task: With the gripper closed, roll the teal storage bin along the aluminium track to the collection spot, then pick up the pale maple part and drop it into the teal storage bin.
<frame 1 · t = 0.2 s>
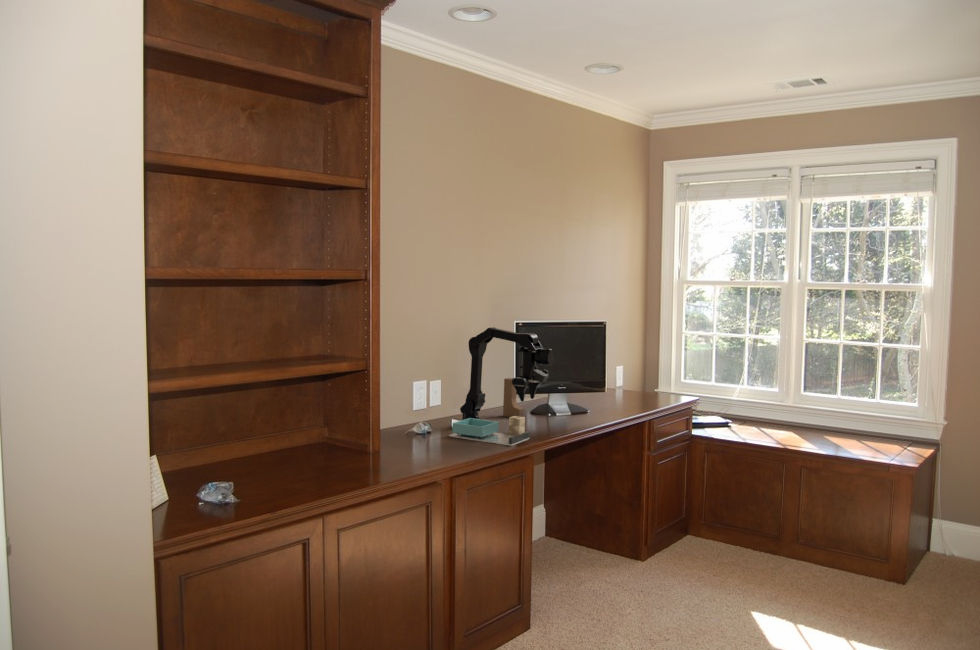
hand: (527, 400, 320), 14 cm above the table, fingers open, 9 cm apart
part: (516, 433, 321), on the table
teal storage bin: (475, 428, 315), point 3 cm above the table, slide at 0.0 cm
wooden block: (513, 417, 360), on the table
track: (489, 437, 312), on the table
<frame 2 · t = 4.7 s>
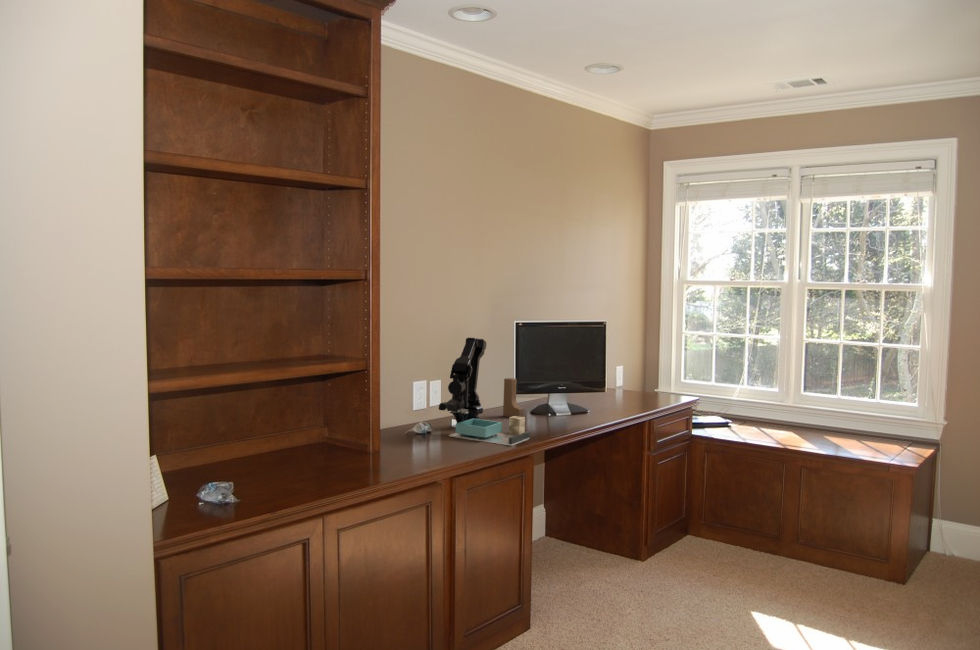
hand: (460, 428, 318), 2 cm above the table, fingers closed
teal storage bin: (479, 428, 314), point 3 cm above the table, slide at 1.6 cm, touching gripper
everything else where it was.
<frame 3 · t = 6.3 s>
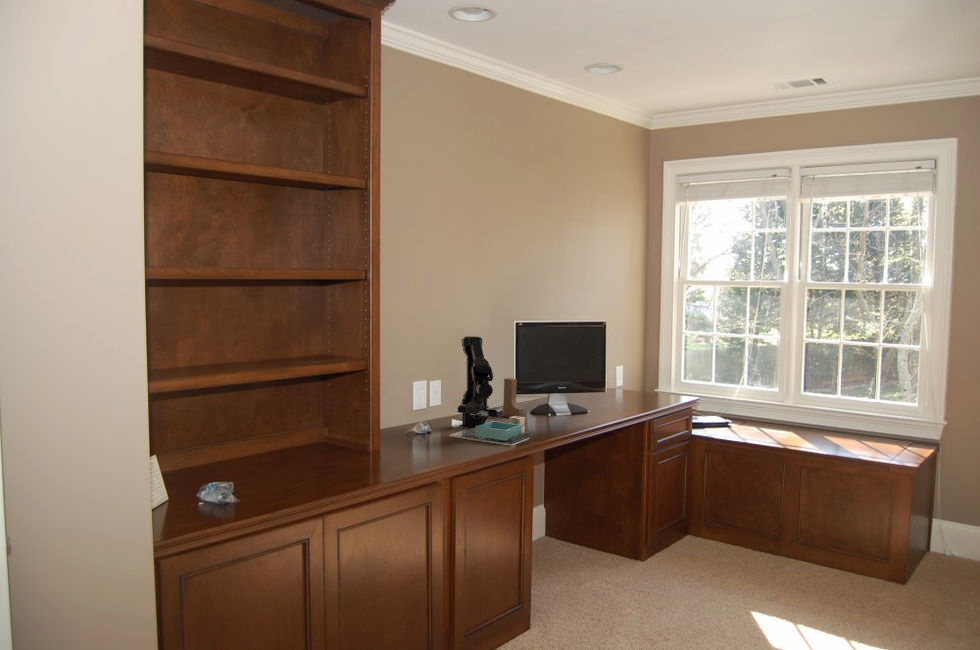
hand: (479, 431, 314), 2 cm above the table, fingers closed
teal storage bin: (498, 431, 310), point 3 cm above the table, slide at 10.9 cm, touching gripper
everything else where it was.
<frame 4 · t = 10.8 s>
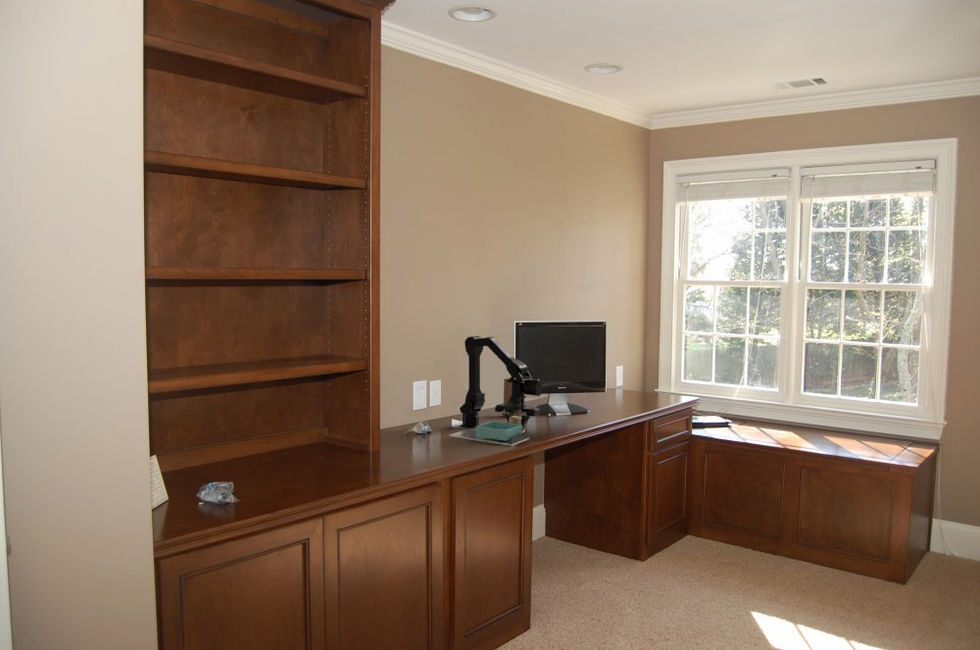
hand: (516, 430, 321), 2 cm above the table, fingers closed on part, 5 cm apart
part: (516, 433, 321), on the table, touching gripper
teal storage bin: (499, 431, 309), point 3 cm above the table, slide at 11.1 cm
everything else where it was.
when the fingers open (6 cm above the table, at t = 14.5 s): part drops 2 cm, resting on teal storage bin.
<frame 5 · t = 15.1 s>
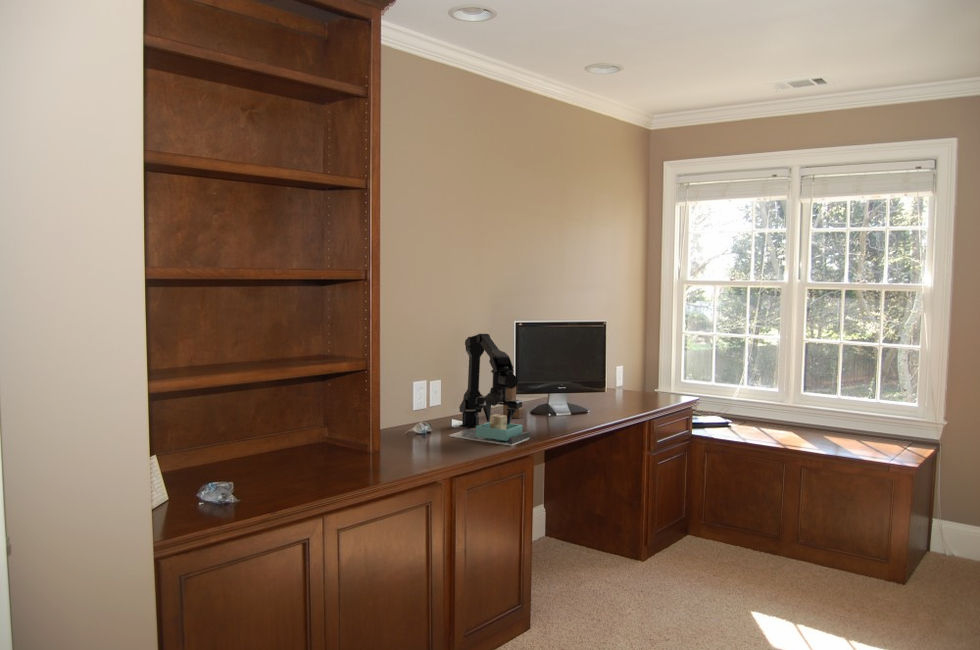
hand: (498, 423, 310), 6 cm above the table, fingers open, 9 cm apart
part: (497, 432, 310), point 2 cm above the table, touching teal storage bin
teal storage bin: (499, 431, 309), point 3 cm above the table, slide at 11.1 cm, touching part
everything else where it was.
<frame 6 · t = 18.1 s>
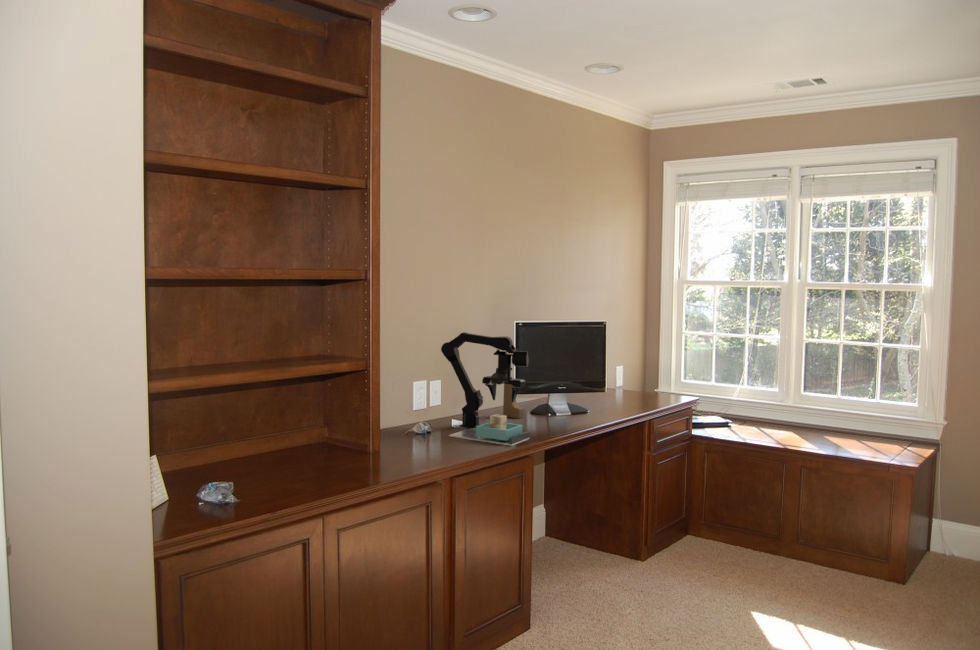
hand: (503, 401, 331), 12 cm above the table, fingers open, 9 cm apart
nothing on the table moved.
at the end: teal storage bin slide at 11.1 cm; part inside the target area on the teal storage bin (0.6 cm from its centre), point 2.5 cm above the teal storage bin's base; the gripper is holding nothing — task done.
